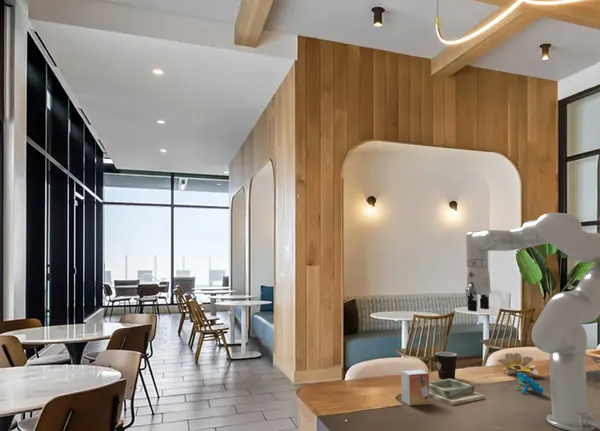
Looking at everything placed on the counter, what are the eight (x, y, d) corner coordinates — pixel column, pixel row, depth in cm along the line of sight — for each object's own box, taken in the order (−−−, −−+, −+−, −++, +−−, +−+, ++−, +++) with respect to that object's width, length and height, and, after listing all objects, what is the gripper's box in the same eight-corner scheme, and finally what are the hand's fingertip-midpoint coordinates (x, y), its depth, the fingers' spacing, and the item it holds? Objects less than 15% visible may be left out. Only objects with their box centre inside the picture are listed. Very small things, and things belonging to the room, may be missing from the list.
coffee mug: (459, 381, 177) (458, 356, 178) (437, 380, 179) (437, 355, 180) (454, 374, 189) (453, 350, 190) (433, 373, 190) (432, 350, 191)
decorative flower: (499, 373, 183) (499, 349, 186) (496, 373, 193) (496, 350, 196) (539, 379, 179) (538, 354, 182) (533, 378, 189) (533, 354, 192)
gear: (550, 392, 158) (529, 372, 158) (541, 405, 156) (520, 385, 157) (531, 388, 168) (512, 369, 169) (523, 399, 167) (503, 381, 168)
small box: (409, 406, 148) (408, 374, 149) (401, 401, 153) (400, 370, 154) (430, 404, 150) (429, 373, 151) (421, 399, 155) (420, 369, 156)
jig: (484, 398, 156) (483, 387, 156) (451, 405, 149) (451, 394, 149) (446, 385, 172) (446, 376, 172) (415, 391, 165) (415, 381, 165)
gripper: (476, 264, 155) (477, 313, 154) (497, 264, 167) (498, 309, 165) (456, 264, 161) (457, 310, 159) (478, 263, 172) (479, 307, 171)
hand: (478, 309), depth 162 cm, fingers open, 9 cm apart
